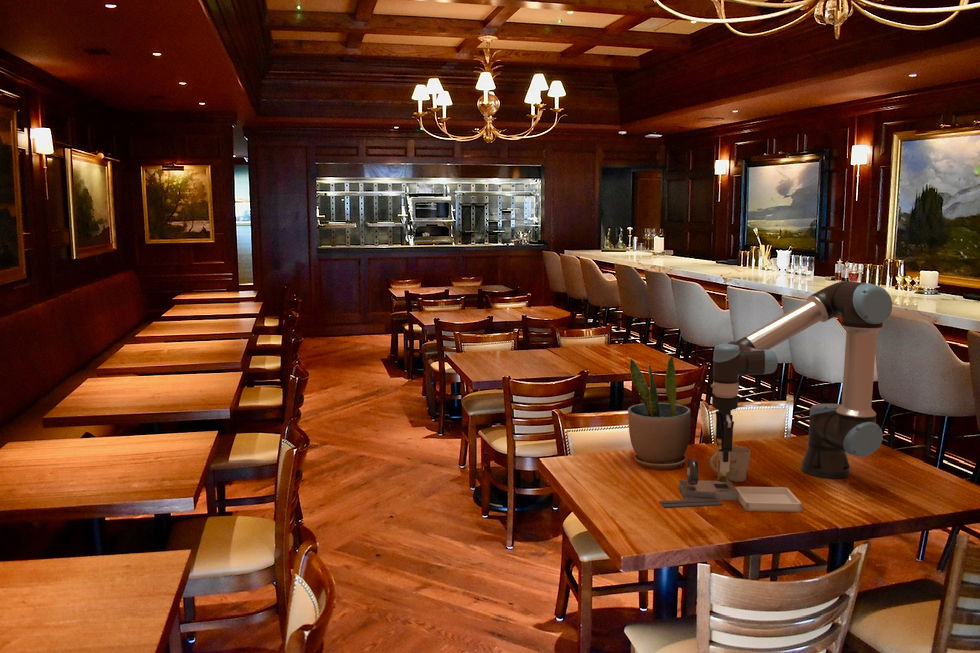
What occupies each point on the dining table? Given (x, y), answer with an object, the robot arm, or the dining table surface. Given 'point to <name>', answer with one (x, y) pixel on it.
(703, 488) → the block
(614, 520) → the dining table surface
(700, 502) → the pair of grey strips
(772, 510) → the tray
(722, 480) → the pin
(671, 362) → the potted plant
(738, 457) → the mug
